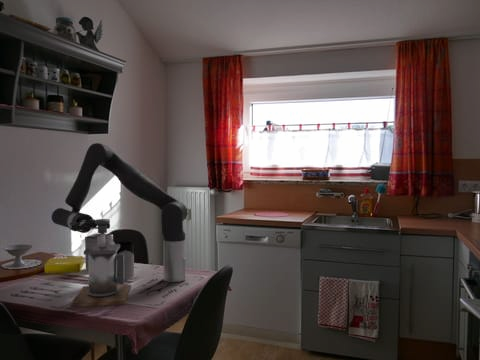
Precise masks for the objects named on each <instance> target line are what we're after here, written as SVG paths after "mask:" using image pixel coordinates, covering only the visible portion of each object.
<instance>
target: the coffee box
mask: <svg viewBox="0 0 480 360" xmlns="http://www.w3.org/2000/svg"><path fill="white" fill-rule="evenodd" d="M90 245H100V233H93V234H91V235H88V236H85V237H84V247H85V248H84V250H86V249H87V248H88V247H89V246H90ZM84 257H85V272H88V273H89V265H88V255H84Z"/></svg>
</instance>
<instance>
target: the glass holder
mask: <svg viewBox="0 0 480 360" xmlns="http://www.w3.org/2000/svg"><path fill="white" fill-rule="evenodd" d="M115 244H120V248H119V250H118V251H117V254H121V253H124V282H126V281H130V280H134V279H135V278H136V275H135V253H134V242H133V241H120V242H119V241H118V242H116V243H115ZM117 278H119V260H117ZM133 278H134V279H133Z"/></svg>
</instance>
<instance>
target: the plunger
mask: <svg viewBox="0 0 480 360" xmlns="http://www.w3.org/2000/svg"><path fill="white" fill-rule="evenodd" d="M94 220H95V224H98V226H97V227H98V229H97V234H100V248H105V234H108V229H107V224H109V223H110V224H111V220H110V219H109V218H99V219H98V218H97V219H94Z"/></svg>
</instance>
